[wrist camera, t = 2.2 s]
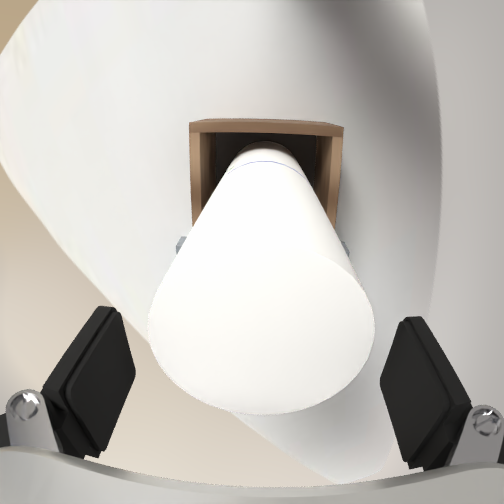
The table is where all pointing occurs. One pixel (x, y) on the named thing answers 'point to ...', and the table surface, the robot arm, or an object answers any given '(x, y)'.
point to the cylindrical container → (262, 295)
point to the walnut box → (205, 141)
